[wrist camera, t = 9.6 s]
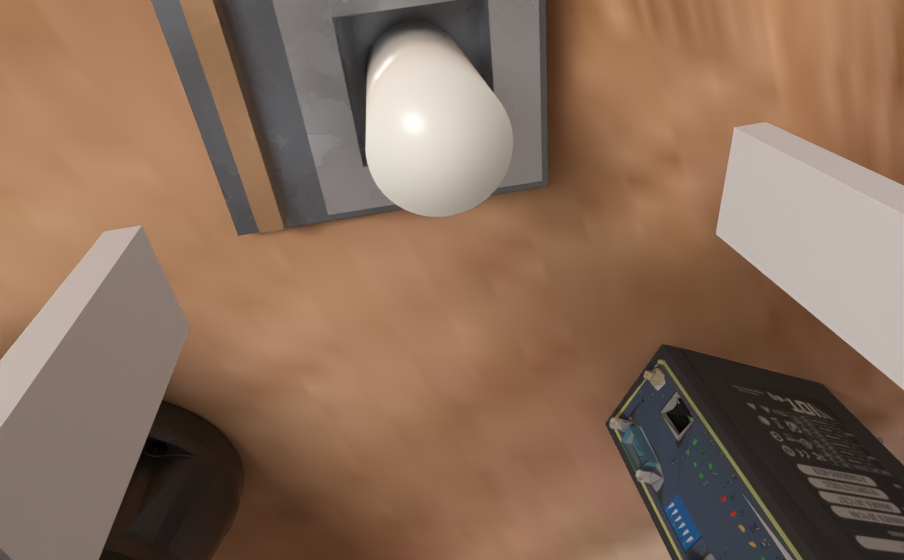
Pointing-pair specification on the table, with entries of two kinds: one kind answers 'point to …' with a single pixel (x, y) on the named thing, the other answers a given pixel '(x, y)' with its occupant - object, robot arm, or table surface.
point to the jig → (334, 95)
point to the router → (756, 465)
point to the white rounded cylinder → (432, 123)
